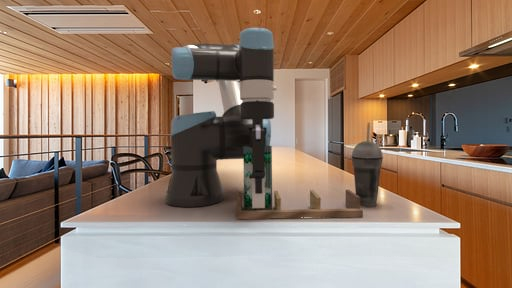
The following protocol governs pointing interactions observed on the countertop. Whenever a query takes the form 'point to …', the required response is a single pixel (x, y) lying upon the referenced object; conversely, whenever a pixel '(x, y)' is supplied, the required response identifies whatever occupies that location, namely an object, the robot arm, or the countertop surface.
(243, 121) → the robot arm
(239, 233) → the countertop surface
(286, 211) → the notch rack
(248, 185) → the can
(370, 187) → the beverage cup
